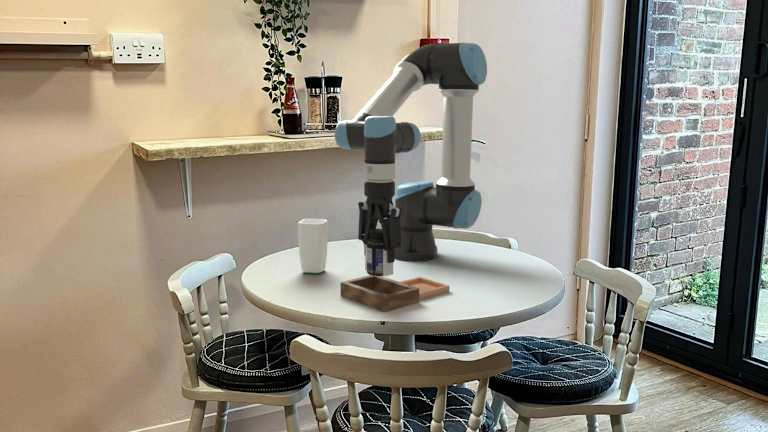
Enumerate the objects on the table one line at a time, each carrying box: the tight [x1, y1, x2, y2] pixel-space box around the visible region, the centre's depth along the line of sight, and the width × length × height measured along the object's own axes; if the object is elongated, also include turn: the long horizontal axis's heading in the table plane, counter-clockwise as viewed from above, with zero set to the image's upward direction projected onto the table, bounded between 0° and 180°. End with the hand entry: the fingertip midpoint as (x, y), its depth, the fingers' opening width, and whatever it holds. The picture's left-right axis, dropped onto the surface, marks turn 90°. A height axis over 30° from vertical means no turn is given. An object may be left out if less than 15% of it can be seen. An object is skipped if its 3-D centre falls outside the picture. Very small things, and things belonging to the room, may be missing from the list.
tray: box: [400, 276, 450, 301], centre depth 177 cm, size 11×11×2 cm
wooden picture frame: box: [339, 274, 420, 313], centre depth 170 cm, size 17×12×4 cm
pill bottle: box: [366, 228, 391, 277], centre depth 168 cm, size 6×6×11 cm
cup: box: [297, 218, 329, 275], centre depth 193 cm, size 7×7×15 cm
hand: (379, 271), depth 169 cm, fingers closed on pill bottle, 6 cm apart
